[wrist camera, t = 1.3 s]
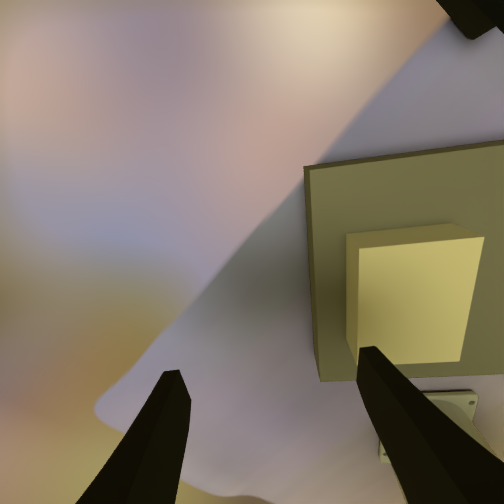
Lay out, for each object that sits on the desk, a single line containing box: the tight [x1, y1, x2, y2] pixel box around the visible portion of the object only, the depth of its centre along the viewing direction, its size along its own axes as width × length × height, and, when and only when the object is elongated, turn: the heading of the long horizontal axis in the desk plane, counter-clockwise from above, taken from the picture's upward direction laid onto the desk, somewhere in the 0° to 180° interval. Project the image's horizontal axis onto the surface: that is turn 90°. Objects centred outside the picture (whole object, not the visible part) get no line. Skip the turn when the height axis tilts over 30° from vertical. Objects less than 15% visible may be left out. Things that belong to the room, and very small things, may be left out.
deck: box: [304, 140, 504, 382], centre depth 18 cm, size 16×14×3 cm
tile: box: [346, 223, 484, 366], centre depth 16 cm, size 8×6×2 cm
